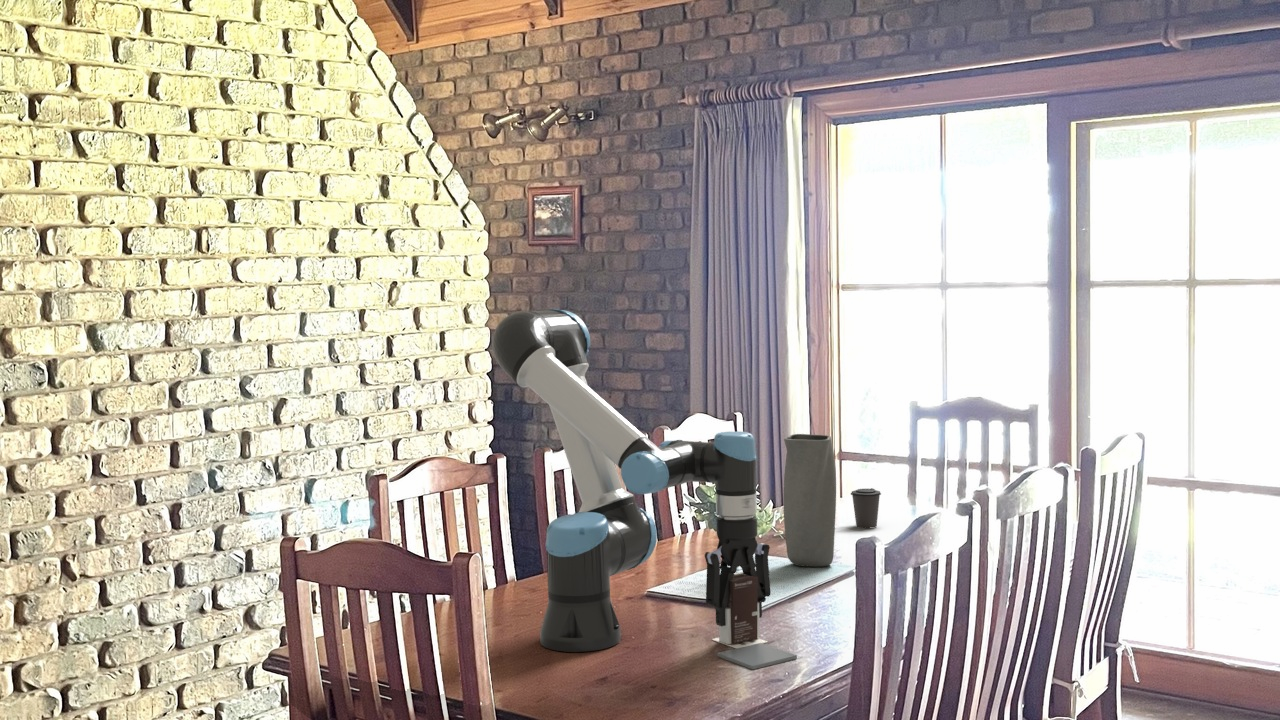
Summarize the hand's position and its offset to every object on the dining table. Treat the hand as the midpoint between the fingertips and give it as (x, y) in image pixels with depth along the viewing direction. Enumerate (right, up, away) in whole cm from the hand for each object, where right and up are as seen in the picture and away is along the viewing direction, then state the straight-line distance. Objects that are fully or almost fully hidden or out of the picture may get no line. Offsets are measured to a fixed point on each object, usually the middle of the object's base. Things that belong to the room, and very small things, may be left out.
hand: (739, 638), depth 239 cm
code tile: (0, 0, 0) cm, 0 cm away
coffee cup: (+42, +7, +104) cm, 112 cm away
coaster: (+2, -1, -11) cm, 11 cm away
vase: (+21, +4, +61) cm, 65 cm away
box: (0, -1, 0) cm, 0 cm away
